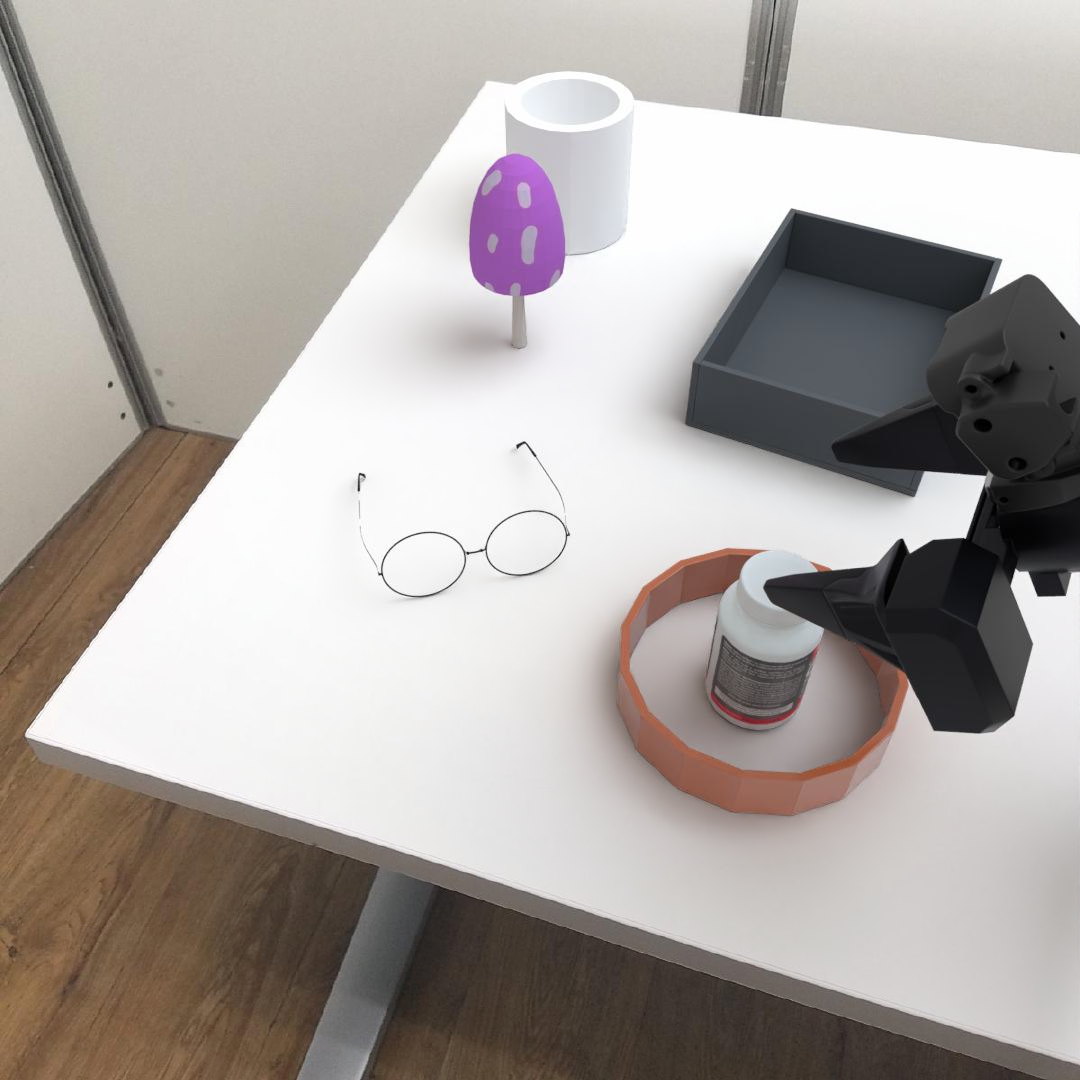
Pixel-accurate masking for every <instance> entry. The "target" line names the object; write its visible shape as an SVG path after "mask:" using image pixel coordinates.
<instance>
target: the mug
mask: <svg viewBox="0 0 1080 1080" xmlns="http://www.w3.org/2000/svg"><path fill="white" fill-rule="evenodd" d="M634 115H635V97H634V96H633V94H632V91H631V89H629V88H627V86H625V85H624V84H623V83H621V82H620V81H617V80H615V79H612V78H610V77H608V76H606V75H601V74H597V73H591V72H587V71H586V72H585V71H568V70H567V71H566V70H565V71H556V72H546V73H542V74H539V75H534V76H530V77H528V78H527V79H525V80H522V81H520V82H518V83H516V84H515V85H514V86H512V87H511V89H509V90H508V91H507V93H506V95H505V99H504V125H505V126H504V127H505V152H506V155H505V156H507V155H509V154H521V155H524V156H527V157H530V158H531V159H533V160H534V161H535V162H536V163H537V164H538V165H539V166H540V167H541V168H542V169H543V170H544V172H545V173H546V175H547V177H548V178H549V180H550V182H551V183H552V185H553V188H554V190H555V193H556V196H557V198H558V202H559V206H560V210H561V215H562V219H563V224H564V233H565V256H571V255H581V254H589V253H593V252H596V251H600V250H603V249H606V248H608V247H609V246H611V245H612V244H614V243H616V242H617V241H619V240H620V239H621V237H622V236H623V235H624V234H625V232H626V230H627V226H628V219H629V217H628V216H629V201H630V200H629V199H630V198H629V197H630V185H631V184H630V183H631V166H632V151H633V149H632V148H633V132H634V131H633V130H634Z"/></svg>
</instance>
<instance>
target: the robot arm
mask: <svg viewBox="0 0 1080 1080" xmlns="http://www.w3.org/2000/svg"><path fill="white" fill-rule="evenodd" d="M944 329H945V330H946V333H945V335H944V337H943V340H942V342H941V344H940V347H939V349H938V351H937V353H936V355H935V356H934V357H933V358H932V359H931V360H930V362H929V364H928V366H927V370H926V381H927V386H928V388H929V391H930V393H928V394H927V395H925V396H923V397H921V398H919V399H917V400H915V401H913V402H911V403H909V404H907V405H905V406H903V407H901V408H899V409H897V410H895V411H893V412H890V413H888V414H886V415H884V416H882V417H880V418H878V419H876V420H874V421H872V422H869V423H867V424H865V425H863V426H861V427H859V428H857V429H855V430H853V431H851V432H849V433H846V434H844V435H842V436H840V437H838V438H836V439H834V440H833V442H832V444H831V450H832V452H833V454H834V456H835V458H836V460H837V461H838V462H840V463H846V464H853V465H859V466H865V467H873V468H885V469H899V470H912V471H924V472H927V473H940V474H952V475H953V474H954V475H956V474H957V475H967V476H977V477H978V476H980V477H985V478H984V483H983V486H982V489H981V491H980V495H979V497H978V501H977V504H976V506H975V510H974V513H973V516H972V518H971V522H970V524H969V527H968V530H967V533H966V536H965V537H956V538H955V537H952V538H938V539H931V540H929V541H928V542H927V543H924V544H923V545H922V546H920V547H918V548H917V549H915V550H913V551H911V552H910V551H909V548H908V546H907V544H906V542H905V539H904V538H899V539H897V540H895V542H894V543H893V544H892V546H891V547H890V548H889V549H888V550H887V551H886V552H885V554H884V555H883V556H882V557H881V558H880V560H879V561H878V562H877V563H876V564H874V565H871V566H863V567H862V566H861V567H854V568H842V569H841V568H840V569H831V571H820V572H810V573H799V574H792V575H787V576H782V577H777V578H772V579H768V580H766V582H765V584H764V586H763V589H764V591H765V593H766V595H767V597H768V599H769V600H770V602H771V603H772V604H774V605H776V606H778V607H780V608H782V609H784V610H786V611H788V612H790V613H793V614H795V615H797V616H799V617H801V618H803V619H805V620H807V621H809V622H811V623H813V624H815V625H818V626H820V627H822V628H824V630H826V631H829V632H830V633H832V634H834V635H836V636H838V637H841V638H842V639H845V640H847V641H848V642H851V643H852V644H854V645H855V644H857V645H858V646H860V647H862V648H864V649H866V650H868V651H869V652H871V653H873V654H874V655H876V656H878V657H879V658H881V659H882V660H884V661H886V662H887V663H889V664H891V665H892V666H894V667H895V668H897V669H899V670H900V671H902V672H903V673H905V674H906V676H907V679H908V683H909V685H910V687H911V688H912V691H913V692H914V694H915V697H916V699H917V700H918V702H919V704H920V706H921V708H922V710H923V712H924V714H925V716H926V719H927V721H928V722H929V725H930V727H931V729H932V730H933V732H944V733H958V734H959V733H960V734H961V733H962V734H975V735H976V734H977V735H980V734H989V733H990V734H991V733H995V732H997V730H999V729H1000V728H1001V727H1003V726H1004V725H1005V724H1007V723H1008V722H1009V721H1010V720H1011V719H1013V718H1014V717H1015V715H1016V711H1017V707H1018V704H1019V700H1020V696H1021V693H1022V689H1023V684H1024V681H1025V677H1026V673H1027V669H1028V666H1029V662H1030V658H1031V655H1032V650H1033V647H1034V642H1033V639H1032V637H1031V634H1030V632H1029V630H1028V627H1027V624H1026V622H1025V619H1024V617H1023V613H1022V612H1021V608H1020V605H1019V604H1018V601H1017V599H1016V596H1015V594H1014V591H1013V589H1012V583H1013V580H1014V576H1015V573H1016V571H1017V572H1018V573H1028V576H1029V579H1030V581H1031V583H1032V586H1033V589H1034V591H1035V594H1036V596H1037V598H1047V597H1049V598H1050V597H1054V598H1055V597H1067V593H1068V589H1069V585H1070V582H1071V577H1072V573H1080V324H1079V322H1078V321H1077V320H1076V319H1075V318H1074V317H1073V315H1072V314H1071V313H1070V312H1069V311H1068V309H1067V308H1066V307H1065V306H1064V305H1063V303H1062V302H1061V301H1060V299H1058V298H1057V296H1056V295H1055V294H1054V293H1053V292H1052V290H1051V289H1050V288H1049V287H1048V285H1046V284H1045V282H1043V281H1042V280H1041V279H1040V277H1038V276H1037V275H1034V274H1031V273H1026V274H1023V275H1022V276H1020V277H1018V278H1017V279H1014V280H1012V281H1011V282H1009V283H1008V284H1006V285H1004V286H1002V287H1000V288H999V289H997V290H995V291H993V292H991V293H990V295H988V296H986V297H985V298H983V299H981V300H979V301H977V302H976V303H974V304H972V305H970V306H969V307H967V308H965V309H963V310H962V311H960V312H958V313H956V314H954V315H953V316H951V317H950V318H949V319H948V320H947V322H946V324H945V328H944Z"/></svg>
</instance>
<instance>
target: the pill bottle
mask: <svg viewBox="0 0 1080 1080" xmlns="http://www.w3.org/2000/svg"><path fill="white" fill-rule="evenodd" d="M767 550H768V551H764V552H761V553H758V554H756V555H754V556H752V557H751V558H750V559H749V560H748V561H747V562H746V563H745V564H744V566H743V568H742V570H741V573H740V577H739V580H737V581H736V582H734V583H733V584H732V585H731V586H730V587H729V588H728V589H727V590H726V591H725V592H723V594H722V596H721V599H720V601H719V604H718V609H717V613H716V618H715V623H714V629H713V635H712V640H711V646H710V652H709V657H708V661H707V666H706V673H705V680H704V681H705V682H704V684H705V693H706V696H707V698H708V701H709V703H710V704H711V706H712V707H713V708H714V710H715V712H717V713H718V714H719V715H720V716H721V717H722V718H724V719H725V720H727V721H728V722H730V723H731V724H733V725H735V726H738V727H741V728H743V729H750V730H756V731H762V730H764V731H765V730H770V729H774V728H777V727H779V726H782V725H784V724H786V723H787V722H789V721H790V720H791V719H792V718H793V717H794V716H795V715H796V713H797V712H798V710H799V708H800V706H801V704H802V702H803V698H804V694H805V693H806V688H807V686H808V683H809V680H810V677H811V674H812V670H813V667H814V663H815V660H816V657H817V655H818V651H819V648H820V645H821V642H822V639H823V636H824V632H825V629H824V628H822V627H820V626H818V625H815V624H813V623H811V622H809V621H807V620H805V619H803V618H801V617H799V616H797V615H795V614H793V613H790V612H788V611H786V610H784V609H782V608H780V607H778V606H776V605H774V604H772V603H771V602H770V600H769V599H768V597H767V595H766V593H765V591H764V589H763V586H764V584H765V582H766V580H768V579H772V578H777V577H782V576H787V575H792V574H799V573H810V572H818V571H817V569H816V568H815V567H814V566H813V564H812V563H810V562H809V561H810V560H808V559H807V558H805V557H803V556H802V555H799V554H797V553H796V552H792V551H787V550H783V549H782V550H781V549H767Z"/></svg>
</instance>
